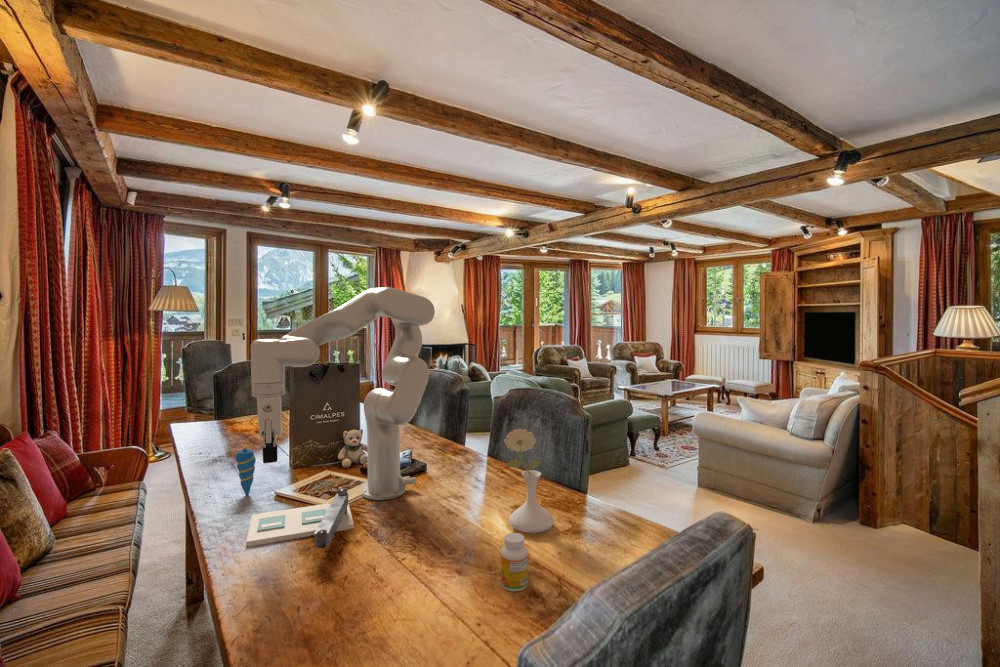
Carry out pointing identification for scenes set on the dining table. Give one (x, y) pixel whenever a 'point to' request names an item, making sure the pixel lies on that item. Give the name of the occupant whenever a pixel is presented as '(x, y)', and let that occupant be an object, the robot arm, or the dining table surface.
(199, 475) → the dining table surface
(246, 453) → the ornament
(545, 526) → the flower in vase
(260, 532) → the label board
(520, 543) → the supplement bottle
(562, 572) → the dining table surface
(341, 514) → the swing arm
